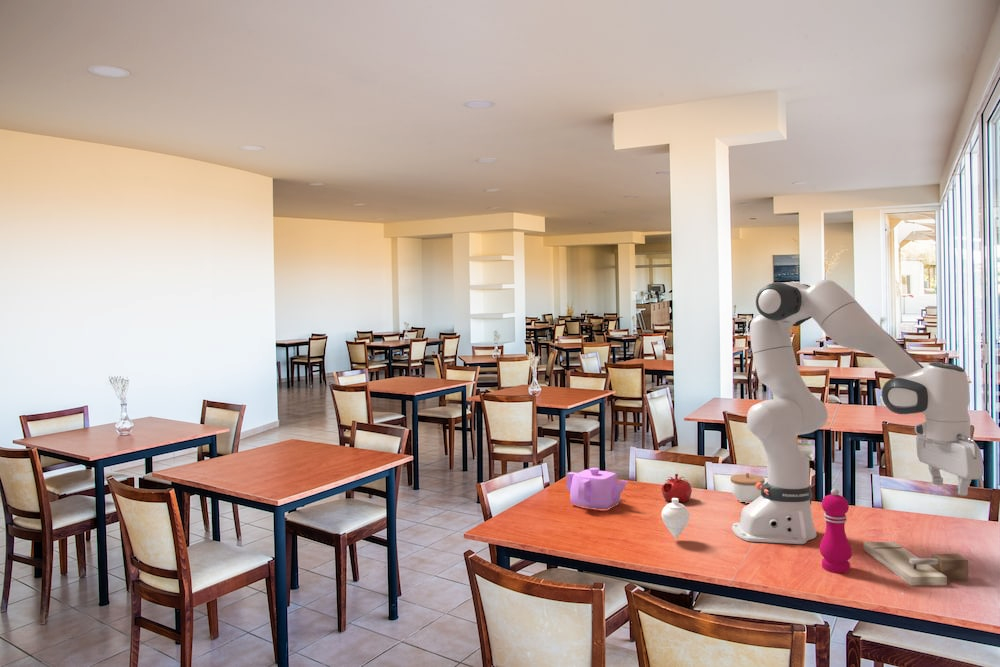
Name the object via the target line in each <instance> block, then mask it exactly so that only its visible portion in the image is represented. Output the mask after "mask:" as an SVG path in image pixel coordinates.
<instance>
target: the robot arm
mask: <svg viewBox="0 0 1000 667" xmlns="http://www.w3.org/2000/svg"><path fill="white" fill-rule="evenodd" d="M755 297H756V299H755V306H756V309H757V311H758V313H759V314H758V315H756V316H755V317H754V318H753V319H751V321H750V324H749V335H750V336H749V337H750V338H749V339H750V346H751V352H752V357H753V362H754V367H755V371H756V375H757V378H758V381H759V382H760V383H761V384H763V385H764V386H766V387H767V388H768V389H769V390H770V391H771V393H772V395H773V396H774V398H773V399H772V398H771V399H765V400H762V401H760V402H758V403H755V404H753V405H752V406H750V408H749V409H748V411H747V413H746V414H747V415H746V422H747V426H748V427H747V428H748V429H749V430H750V432H751V434H753V435H754V436H755V437H757V439H758V440H759V441H760V442H761V444H762V446H763V447H762V448H763V450H764V453H765V457H766V471H767V473H766V474H767V481H766V483H764V485H763V484H762V483H760V482H757V484H755V486H756V488H757V489H758V490H761V496H760V497H758V498H757V499H755V500H754V501H753V502H751V503H750V504H747V505H744V507H742V510H741V513H740V518H739V522H738V521H737V522H734V523H732V526H731V530H732V533H733V534H734V535H735V536H737V537H738V538H739V539H741V540H743V541H747V542H756V543H771V544H772V543H773V544H775V543H776V544H789V545H790V544H793V545H804V544H806V543H807V542H808V541H810V540H811V541H812V540H814V539H815V538H817V531H816V529H815V524H814V520H813V516H812V515H813V514H812V507H811V505H812V500H813V494H812V485H811V484H810V483H811V482H810V459H809V457H808V456H807V454H805V453H804V452H803V451H802V450H800V448H799V445H798V443H797V436H800V435H806V434H811V433H813V432H815V431H817V430H820V429H821V428H823V427H824V426H825V425H826V423H827V420H828V410H827V407H826V405H825V404H824V402H823V401H822V400H821V399H819V398H817V397H816V395H814V394H813V393H812V392H811V390H810V389H809V387H808V386H807V384H806V383H805V381H804V380H803V377H802V375H801V373H800V370H799V367H798V364H797V359H796V356H795V351H794V346H793V343H792V339H791V329H792V327H798V326H800V325H802V324H803V323H804V322H806V321H808V320H811V319H813V320H814V321H815V322H816V323H817V325H818V326H819V327H820V328H821V329H822V331H823V332H824V333H825V334H826V336H828V338H830V340H832V341H833V342H835V343H836V344H837V345H839V346H840V347H843V348H845V349H846V348H847V349H851V350H854V351H855V350H857V351H859V352H863V353H865V354H869V355H871V356H873V357H875V359H877V360H878V361H880V362H881V363H882V365H883V366H884V367H886V368H887V370H888V371H890V372H891V374H893V375H894V377H893V378H890V379H888V381H886V382H885V383H884V385H883V387H882V389H881V398H882V401H883V404H884V406H885V407H886V408H887V409H888V410H889V411H891V412H892V413H895V414H897V415H902V416H903V415H904V416H908V415H910V416H911V415H914V414H924V416H925V417H924V418H925V422H921V423H918V424H915V426H914V432H915V434H916V439H915V440H916V441H915V442H916V456H917V458H918V461H919V462H920V463H923V464H925V465H928V470H929V474H930V475H931V476H930V477H931V483H932V484H933V485H935V486H942V485H943V484H944V478H943V477H942V474H941V470H942V471H944V472H947V473H949V474H952V475H955V476H957V480H958V481H959V482H958V484H957V485H958V486H955V494H957V495H960V496H968V494H969V490H968V489H969V487H970V486H971V485H970V484H971V483H972V480H981V479H982V478H983V477H984V465H983V464H984V462H983V456H982V451H981V449H980V447H979V446H978V444H977V443H976V442H975V439H974V438H972V437H971V436H972V435H971V418H970V415H969V411H968V410H969V405H970V387H969V379H968V376H967V373H966V371H965V369H964V368H963V367H961V366H959V365H956V364H954V363H949V362H947V363H946V362H939V361H938V362H937V361H936V362H935V361H934V362H929V363H928V364H926V365H925V366H923V365H922V364H921V363H920V362H919V361H918V360H917V359H915V358H914V357H913V356H912V355H911V353H909V352H908V350H906V348H904V347H903V346H902V345H901V344H900V343H899V342H898V341H897V340H895V338H894V337H892V336H891V335H890V334H889V333H888V332H887V331H886V330H885V329H884V328H883V327H881V326H880V325H879V324H878V322H876V321H875V320H874V319H873V317H872V316H871V315H870V314H869V313H868V312H867V311H866V310H865V309H864V308H863V307H862V306H861V304H860V303H859V302H858V301H857V300H856V299H855V298H854V297H853V296H852V295H851V294H850V293H849V292H847V291H846V290H845V289H844V288H843V287H842V286H841V285H839V284H838V283H836V282H835V281H834V280H832V279H831V280H830V279H821V280H818V281H815V282H814V283H813V284H811V285H809V284H805V283H799V282H790V281H789V282H788V281H787V282H772V283H769V284H767V285H765V286H763V287H762V288H761V289H759V291H758V292H757V295H756V296H755Z"/></svg>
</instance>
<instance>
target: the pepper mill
mask: <svg viewBox="0 0 1000 667" xmlns="http://www.w3.org/2000/svg"><path fill="white" fill-rule="evenodd" d="M839 493H840V492H839V490H838V489H837V488H832V489H831V490H830V494H827V495H825V496H823V498H822V501H821V508H822V510H823V512H824V513H823V515H824V517H823V519H824V520H825V531H824V535H823V536H822V539H821V540H820V544H819V553H820V555H821V556H822V559H821V567H822V569H824V570H826V571H828V572H830V573H834V574H845V573H849V572H850V571H851V563H850V561H849V560H850V559H851V558H852V556H853V550H852V549H853V548H852V545H851V543H850V541H849V539H848V537H847V534H846V531H845V527H846V526H845V524H846V522H847V517H848V516H847V515H846V513H848V512H849V501H848V500H847V499H846V498H845V497H844V496H842V495H840V494H839Z"/></svg>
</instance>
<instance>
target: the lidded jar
mask: <svg viewBox="0 0 1000 667" xmlns="http://www.w3.org/2000/svg"><path fill="white" fill-rule="evenodd" d="M765 480H766V479H765V478H764V477H762V476H761V475H757V474H750V473H749V472H745V473H738V474H735V475H734V474H733V475H731V476H730V487H731V492H732V495H733V496H734V497H735V498H736V499H737V501H738V500H740V501H743V502H753V501H754V500H755V499H757V498H758V497H760V496H761V490H758V489H757V488H756V486H755V484H757V482H760V483H762V484H763V485H764V484H766V483H765Z"/></svg>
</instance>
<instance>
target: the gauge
mask: <svg viewBox="0 0 1000 667" xmlns="http://www.w3.org/2000/svg"><path fill="white" fill-rule="evenodd" d="M909 563H911V564H913V567H914V569H916V564H929V565H931V566H932V567H933V568H935V569H936V570H938V571H939V572H941V573H942V574H944V575H945V576H947V582H963V581H964V582H967V581H969V559H967V558H966V557H964V556H962V555H961V554H959V553H931V557H929V558H928V557H925V558H923V557H922V558H921V557H918V558H909Z"/></svg>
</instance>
